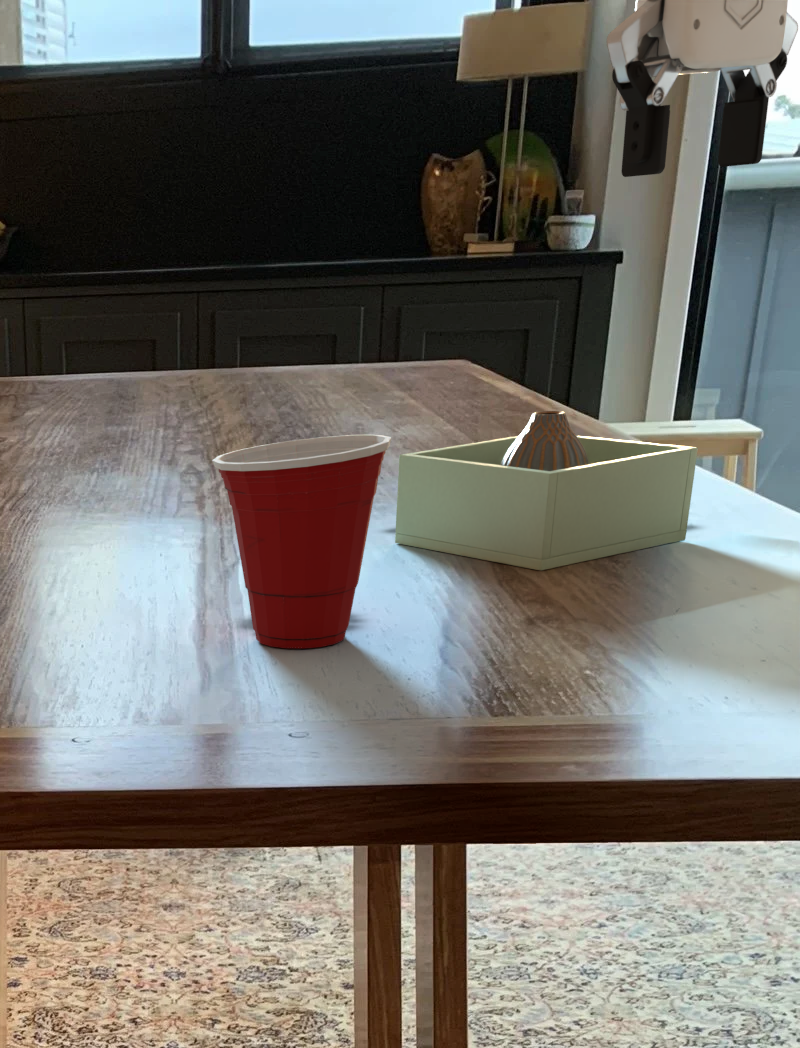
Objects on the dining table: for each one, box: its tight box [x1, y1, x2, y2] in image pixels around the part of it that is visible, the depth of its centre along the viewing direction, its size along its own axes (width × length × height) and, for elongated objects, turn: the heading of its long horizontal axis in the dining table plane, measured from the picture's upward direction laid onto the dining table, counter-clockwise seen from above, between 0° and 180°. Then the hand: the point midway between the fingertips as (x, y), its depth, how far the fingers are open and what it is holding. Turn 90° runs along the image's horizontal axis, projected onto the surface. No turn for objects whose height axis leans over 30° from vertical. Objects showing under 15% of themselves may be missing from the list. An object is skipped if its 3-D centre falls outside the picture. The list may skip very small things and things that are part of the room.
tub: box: [394, 435, 699, 572], centre depth 119 cm, size 16×16×7 cm
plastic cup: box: [211, 434, 392, 650], centre depth 96 cm, size 11×11×12 cm
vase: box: [501, 410, 589, 471], centre depth 118 cm, size 7×7×9 cm
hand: (691, 170), depth 106 cm, fingers open, 9 cm apart
